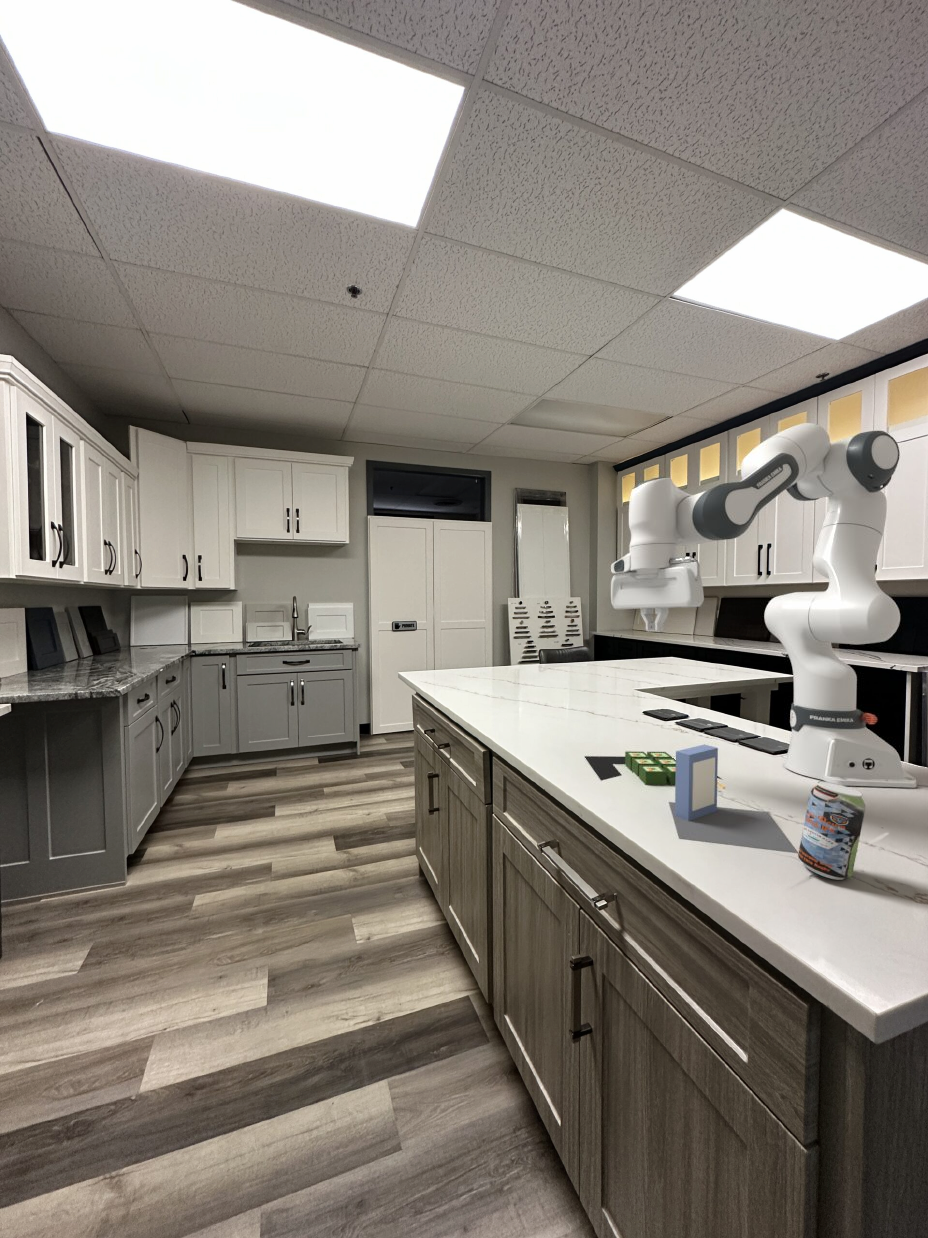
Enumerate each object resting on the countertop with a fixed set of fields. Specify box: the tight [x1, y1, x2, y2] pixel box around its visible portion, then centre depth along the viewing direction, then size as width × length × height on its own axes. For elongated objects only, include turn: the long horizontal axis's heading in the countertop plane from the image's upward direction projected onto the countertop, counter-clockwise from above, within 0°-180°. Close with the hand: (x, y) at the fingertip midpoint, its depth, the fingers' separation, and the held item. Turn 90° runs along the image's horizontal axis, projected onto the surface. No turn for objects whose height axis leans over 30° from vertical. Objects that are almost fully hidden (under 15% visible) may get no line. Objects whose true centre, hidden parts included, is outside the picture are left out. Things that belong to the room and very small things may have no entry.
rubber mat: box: [668, 801, 799, 854], centre depth 83 cm, size 16×15×1 cm
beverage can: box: [797, 780, 866, 881], centre depth 68 cm, size 6×7×12 cm
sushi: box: [584, 750, 726, 789], centre depth 108 cm, size 25×25×4 cm
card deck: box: [674, 744, 719, 821], centre depth 87 cm, size 3×8×11 cm, turn 122°
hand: (654, 631), depth 100 cm, fingers closed
